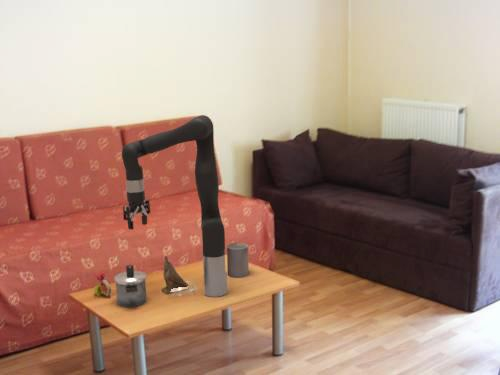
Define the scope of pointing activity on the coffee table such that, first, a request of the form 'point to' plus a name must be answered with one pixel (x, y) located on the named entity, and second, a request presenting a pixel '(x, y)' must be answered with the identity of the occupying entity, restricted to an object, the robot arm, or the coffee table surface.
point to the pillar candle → (237, 260)
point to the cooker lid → (130, 276)
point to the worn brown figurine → (171, 278)
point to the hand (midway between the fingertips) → (137, 226)
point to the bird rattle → (102, 286)
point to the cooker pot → (131, 294)
